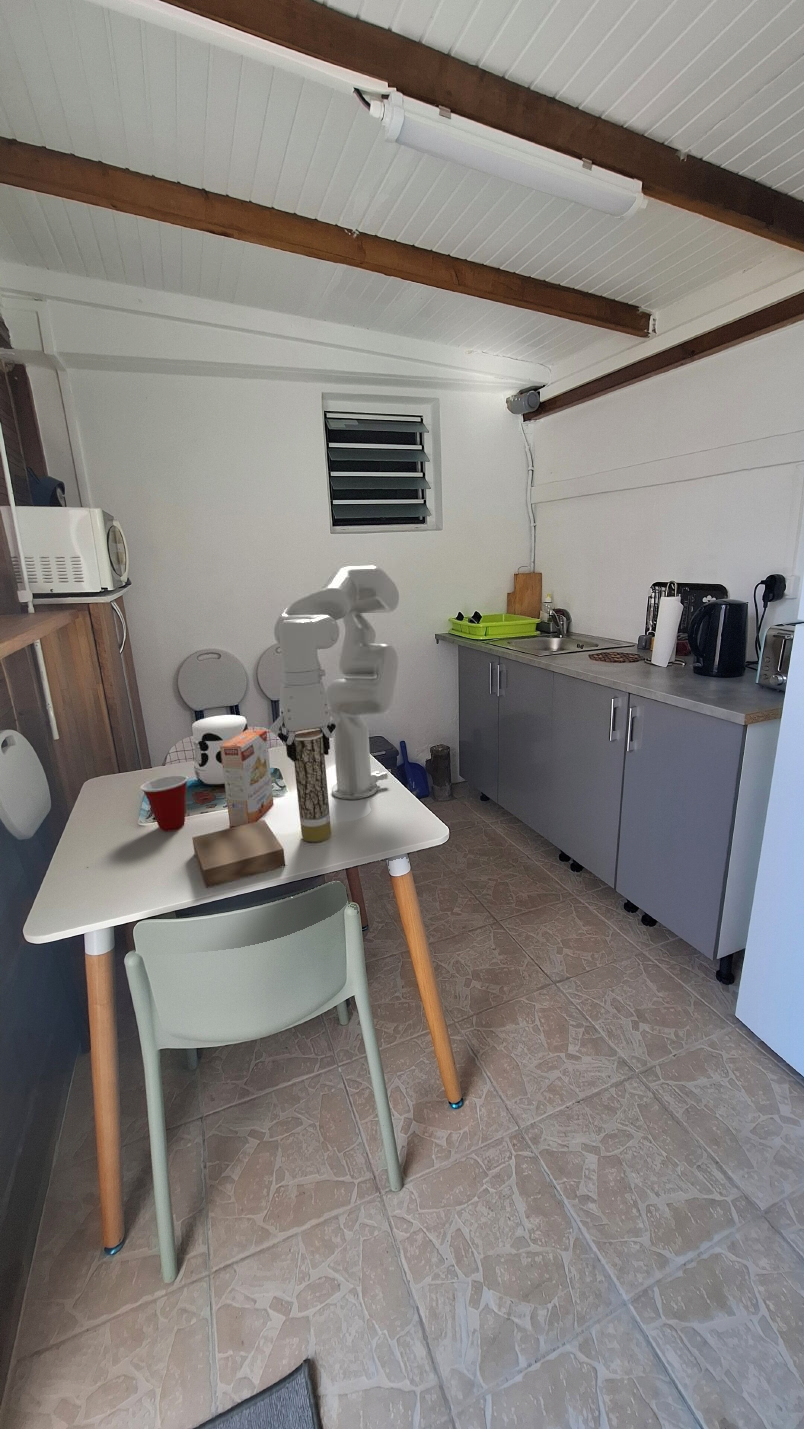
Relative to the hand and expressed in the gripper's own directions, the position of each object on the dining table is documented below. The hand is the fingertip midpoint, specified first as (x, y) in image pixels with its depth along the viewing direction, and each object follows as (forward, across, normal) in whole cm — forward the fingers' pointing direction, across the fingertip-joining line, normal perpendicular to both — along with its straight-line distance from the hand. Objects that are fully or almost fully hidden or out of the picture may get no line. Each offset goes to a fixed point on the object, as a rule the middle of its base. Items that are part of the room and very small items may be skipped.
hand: (309, 755), depth 124 cm
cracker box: (+20, +10, -20) cm, 30 cm away
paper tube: (+20, 0, 0) cm, 20 cm away
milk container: (+20, +11, -50) cm, 55 cm away
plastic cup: (+20, +29, -25) cm, 43 cm away
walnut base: (+20, +18, +1) cm, 27 cm away
